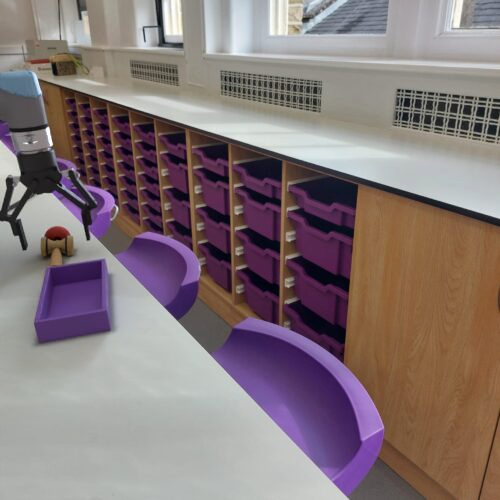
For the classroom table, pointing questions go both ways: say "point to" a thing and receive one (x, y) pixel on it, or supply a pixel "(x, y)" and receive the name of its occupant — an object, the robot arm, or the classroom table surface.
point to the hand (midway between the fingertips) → (57, 243)
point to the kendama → (56, 244)
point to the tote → (73, 301)
